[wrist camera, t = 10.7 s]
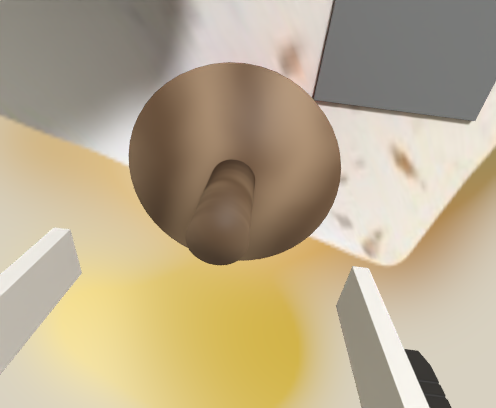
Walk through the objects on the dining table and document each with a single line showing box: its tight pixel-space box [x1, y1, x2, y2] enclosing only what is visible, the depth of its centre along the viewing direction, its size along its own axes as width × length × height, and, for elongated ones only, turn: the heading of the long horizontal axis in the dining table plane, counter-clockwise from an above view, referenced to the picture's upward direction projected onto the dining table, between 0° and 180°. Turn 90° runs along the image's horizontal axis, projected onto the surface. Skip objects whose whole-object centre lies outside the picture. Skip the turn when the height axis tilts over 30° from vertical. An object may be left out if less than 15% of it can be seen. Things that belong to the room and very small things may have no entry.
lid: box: [129, 62, 341, 265], centre depth 20 cm, size 17×17×9 cm
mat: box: [313, 0, 496, 121], centre depth 26 cm, size 18×18×1 cm
